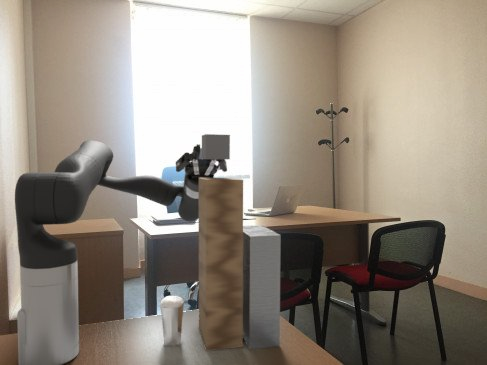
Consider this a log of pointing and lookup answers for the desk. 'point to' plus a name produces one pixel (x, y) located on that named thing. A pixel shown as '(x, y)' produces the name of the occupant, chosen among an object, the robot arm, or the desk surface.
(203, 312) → the walnut stand
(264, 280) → the tall grey pillar
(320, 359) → the desk surface
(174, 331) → the milkshake
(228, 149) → the block
